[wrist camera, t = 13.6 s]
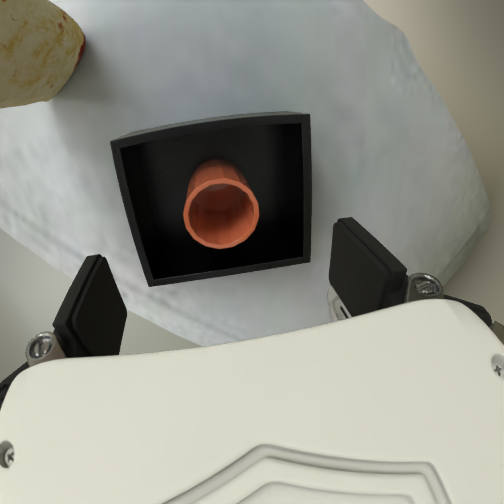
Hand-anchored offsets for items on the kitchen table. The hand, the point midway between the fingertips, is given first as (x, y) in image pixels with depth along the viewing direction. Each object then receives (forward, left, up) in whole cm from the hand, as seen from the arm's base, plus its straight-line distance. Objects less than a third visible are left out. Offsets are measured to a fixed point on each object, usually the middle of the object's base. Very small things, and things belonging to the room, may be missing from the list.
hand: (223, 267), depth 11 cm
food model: (-15, +15, -20) cm, 30 cm away
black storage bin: (0, -3, -20) cm, 20 cm away
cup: (0, -3, -19) cm, 20 cm away
